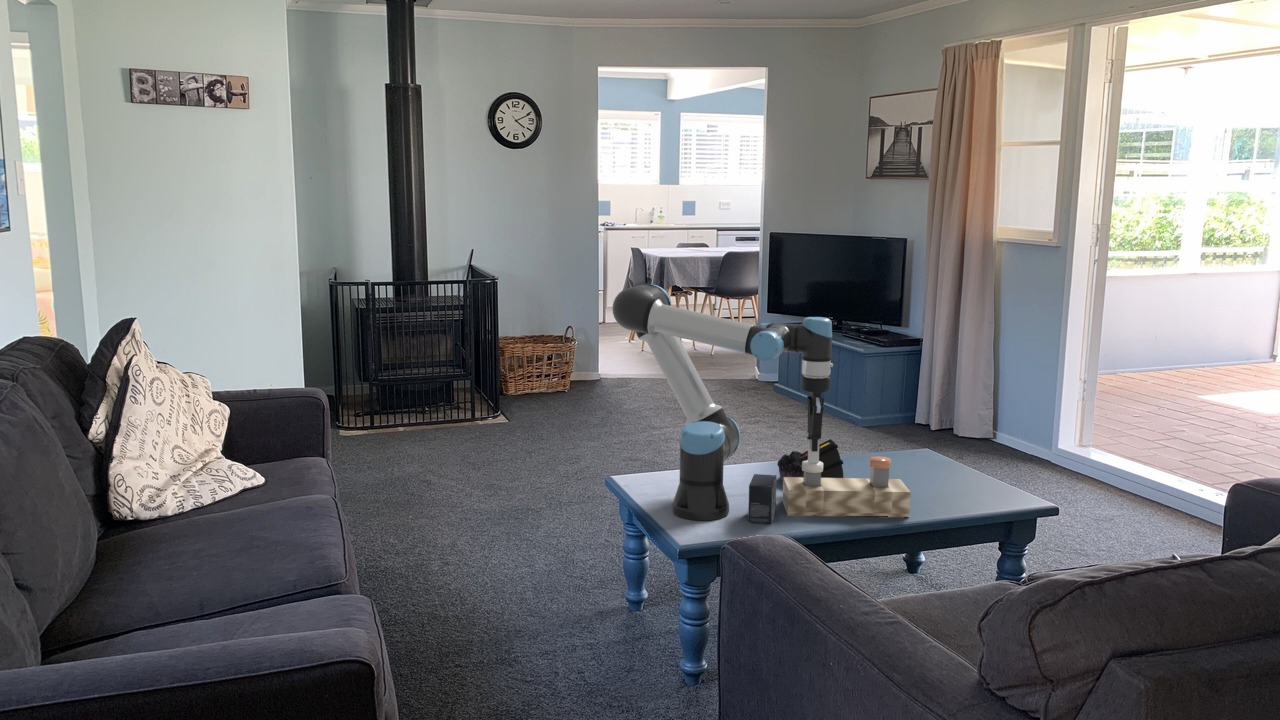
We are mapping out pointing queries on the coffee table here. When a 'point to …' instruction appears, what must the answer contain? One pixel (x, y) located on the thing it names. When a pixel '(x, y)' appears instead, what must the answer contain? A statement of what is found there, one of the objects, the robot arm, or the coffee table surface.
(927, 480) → the coffee table surface
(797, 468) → the black rock
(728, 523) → the coffee table surface
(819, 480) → the pale plunger
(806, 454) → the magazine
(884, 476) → the terracotta plunger
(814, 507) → the block
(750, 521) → the small box
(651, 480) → the coffee table surface
